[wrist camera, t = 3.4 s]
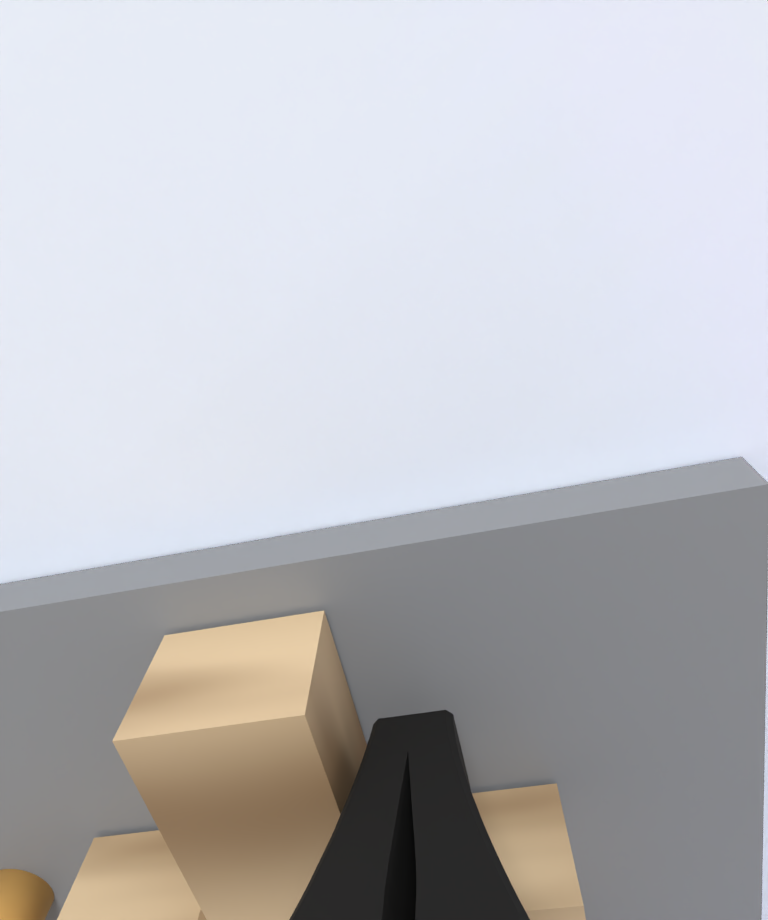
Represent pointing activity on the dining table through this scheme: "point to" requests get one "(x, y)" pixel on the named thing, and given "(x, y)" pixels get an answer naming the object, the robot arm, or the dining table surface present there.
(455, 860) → the robot arm
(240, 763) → the wooden beam assembly
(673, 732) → the base plate
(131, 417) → the dining table surface
